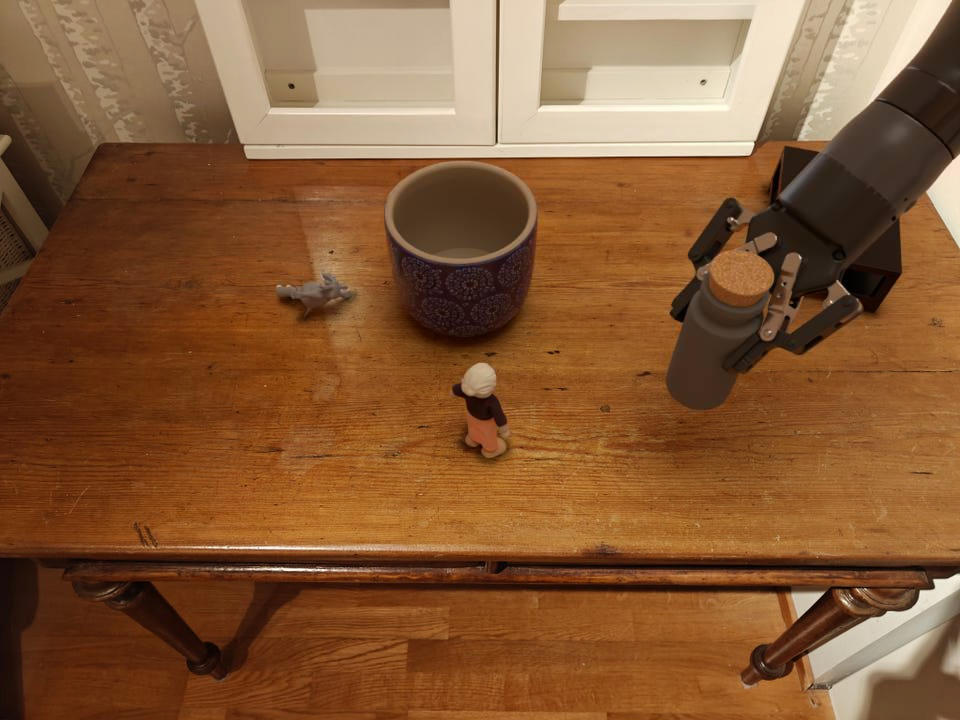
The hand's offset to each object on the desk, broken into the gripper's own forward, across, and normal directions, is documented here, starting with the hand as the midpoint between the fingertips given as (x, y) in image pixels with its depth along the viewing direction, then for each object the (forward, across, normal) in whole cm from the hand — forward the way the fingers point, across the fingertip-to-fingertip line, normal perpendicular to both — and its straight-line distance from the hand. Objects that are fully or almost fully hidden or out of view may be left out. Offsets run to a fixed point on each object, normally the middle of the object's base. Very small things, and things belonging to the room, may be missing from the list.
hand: (701, 343), depth 58 cm
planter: (+18, -29, +8) cm, 35 cm away
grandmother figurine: (+24, -11, +2) cm, 26 cm away
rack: (-13, -14, +40) cm, 44 cm away
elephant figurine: (+30, -37, -4) cm, 48 cm away
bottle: (+4, 0, +6) cm, 8 cm away
